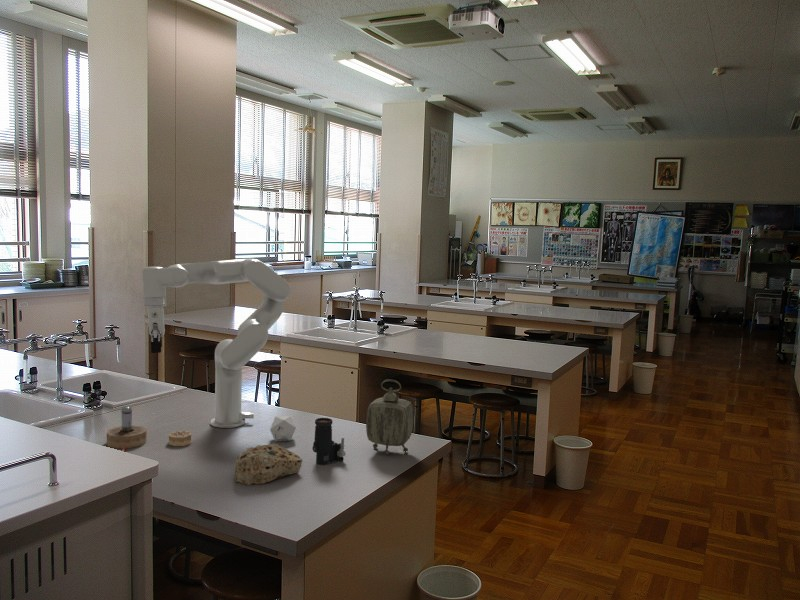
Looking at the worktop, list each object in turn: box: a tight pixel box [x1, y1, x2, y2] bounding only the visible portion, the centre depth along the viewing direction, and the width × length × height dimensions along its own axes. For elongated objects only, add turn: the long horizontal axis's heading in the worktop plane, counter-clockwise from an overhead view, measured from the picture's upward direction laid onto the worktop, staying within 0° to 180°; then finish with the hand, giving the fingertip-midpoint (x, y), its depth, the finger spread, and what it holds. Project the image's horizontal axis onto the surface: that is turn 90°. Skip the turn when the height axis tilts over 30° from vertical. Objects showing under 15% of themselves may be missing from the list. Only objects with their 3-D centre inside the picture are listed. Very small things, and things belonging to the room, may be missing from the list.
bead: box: [106, 424, 148, 449], centre depth 215 cm, size 12×12×4 cm
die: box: [269, 415, 297, 442], centre depth 224 cm, size 8×9×10 cm
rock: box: [233, 443, 304, 486], centre depth 192 cm, size 21×14×10 cm
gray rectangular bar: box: [120, 405, 133, 433], centre depth 215 cm, size 3×3×12 cm
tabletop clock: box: [365, 378, 415, 456], centre depth 215 cm, size 14×9×25 cm, turn 74°
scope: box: [312, 417, 346, 466], centre depth 204 cm, size 8×14×10 cm
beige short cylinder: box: [168, 430, 192, 447], centre depth 217 cm, size 7×7×3 cm
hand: (156, 350), depth 227 cm, fingers open, 9 cm apart
